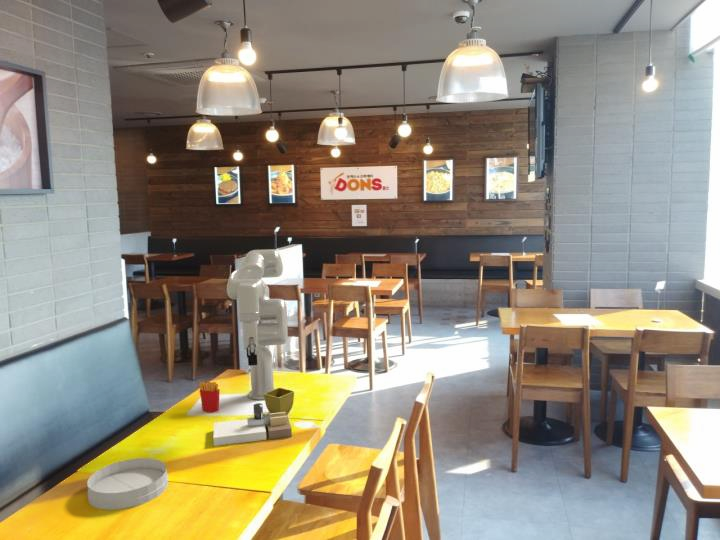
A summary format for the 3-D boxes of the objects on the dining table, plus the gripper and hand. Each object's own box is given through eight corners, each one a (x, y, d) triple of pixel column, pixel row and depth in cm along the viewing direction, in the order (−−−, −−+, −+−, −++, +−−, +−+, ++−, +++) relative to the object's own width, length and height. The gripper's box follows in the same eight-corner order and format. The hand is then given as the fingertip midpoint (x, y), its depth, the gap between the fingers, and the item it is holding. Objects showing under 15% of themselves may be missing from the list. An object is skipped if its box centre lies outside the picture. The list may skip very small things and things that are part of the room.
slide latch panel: (214, 430, 211) (213, 415, 210) (287, 422, 217) (286, 407, 216) (213, 446, 197) (212, 430, 197) (291, 436, 203) (291, 420, 203)
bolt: (247, 424, 208) (246, 404, 207) (280, 420, 211) (279, 400, 210) (247, 427, 205) (246, 407, 204) (281, 423, 208) (280, 403, 207)
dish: (143, 466, 184) (142, 451, 184) (183, 486, 170) (182, 470, 170) (73, 494, 167) (72, 478, 167) (111, 519, 153) (109, 502, 153)
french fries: (222, 409, 232) (220, 381, 231) (217, 413, 229) (215, 384, 227) (203, 408, 235) (201, 379, 233) (198, 411, 231) (196, 382, 230)
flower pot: (279, 420, 219) (278, 397, 218) (264, 415, 224) (262, 393, 223) (295, 413, 226) (294, 391, 225) (280, 408, 231) (279, 387, 230)
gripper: (238, 311, 217) (240, 355, 219) (239, 322, 200) (242, 369, 203) (257, 310, 218) (260, 353, 221) (261, 321, 202) (264, 367, 205)
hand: (252, 361), depth 212 cm, fingers open, 9 cm apart
